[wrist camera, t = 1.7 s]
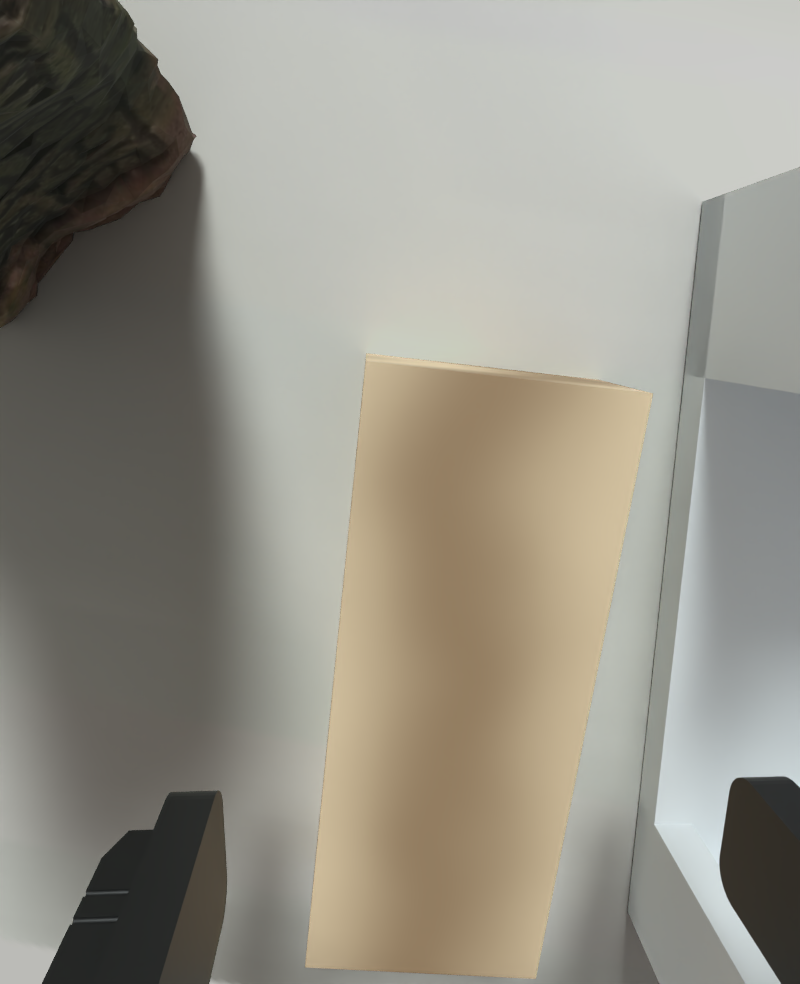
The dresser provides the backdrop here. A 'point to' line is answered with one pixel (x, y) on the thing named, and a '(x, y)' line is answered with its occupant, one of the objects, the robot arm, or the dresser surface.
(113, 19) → the statue
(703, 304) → the cabinet bay
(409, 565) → the shelf board
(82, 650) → the dresser surface
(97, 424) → the dresser surface
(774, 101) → the dresser surface
